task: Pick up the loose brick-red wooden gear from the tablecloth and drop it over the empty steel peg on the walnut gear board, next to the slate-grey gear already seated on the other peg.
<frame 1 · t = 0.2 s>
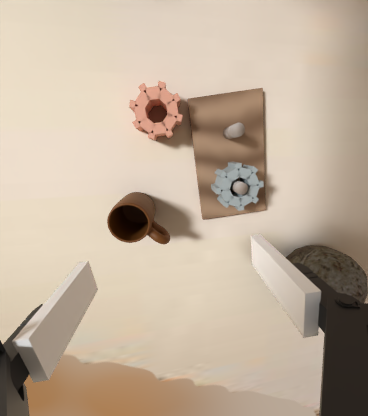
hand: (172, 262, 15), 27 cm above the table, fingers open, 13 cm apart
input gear: (158, 116, 37), on the table
gear board: (228, 159, 40), on the table
vase: (299, 266, 49), on the table
mug: (147, 213, 43), on the table
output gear: (231, 183, 40), point 1 cm above the table, touching gear board
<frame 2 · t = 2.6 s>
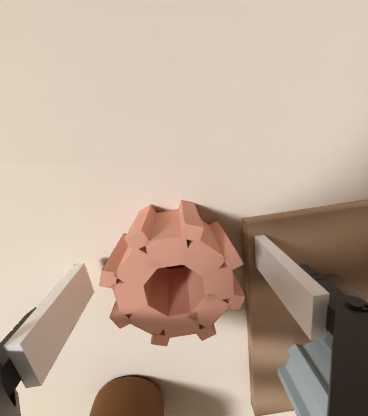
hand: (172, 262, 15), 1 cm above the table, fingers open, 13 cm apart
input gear: (174, 250, 16), on the table
gear board: (315, 317, 20), on the table
mug: (147, 400, 22), on the table
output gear: (319, 364, 20), point 1 cm above the table, touching gear board
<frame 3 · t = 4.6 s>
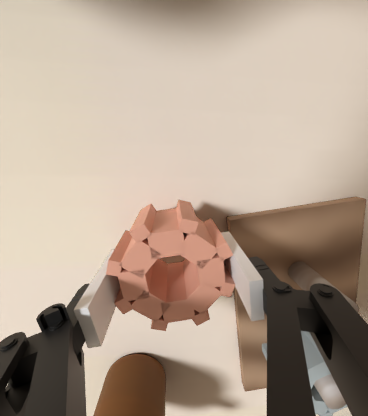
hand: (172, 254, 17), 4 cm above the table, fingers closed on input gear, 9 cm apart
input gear: (172, 245, 18), point 3 cm above the table, touching gripper
gear board: (291, 300, 24), on the table
mug: (151, 377, 26), on the table
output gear: (297, 341, 24), point 1 cm above the table, touching gear board
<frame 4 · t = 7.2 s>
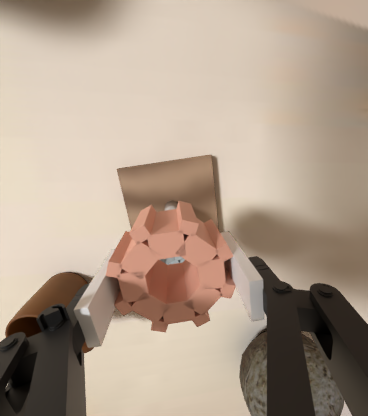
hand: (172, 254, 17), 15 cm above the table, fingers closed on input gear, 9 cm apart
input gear: (172, 246, 18), point 14 cm above the table, touching gripper
gear board: (176, 232, 33), on the table
vase: (269, 342, 42), on the table
mug: (81, 292, 35), on the table
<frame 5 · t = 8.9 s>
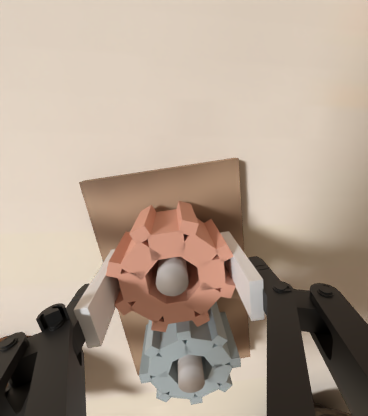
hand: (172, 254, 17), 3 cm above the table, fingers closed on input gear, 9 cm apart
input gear: (172, 246, 18), point 2 cm above the table, touching gripper
gear board: (179, 277, 21), on the table
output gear: (186, 321, 22), point 1 cm above the table, touching gear board
when the fingers open (3 cm above the table, at t = 9.9 s): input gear stays where it is, resting on gear board.
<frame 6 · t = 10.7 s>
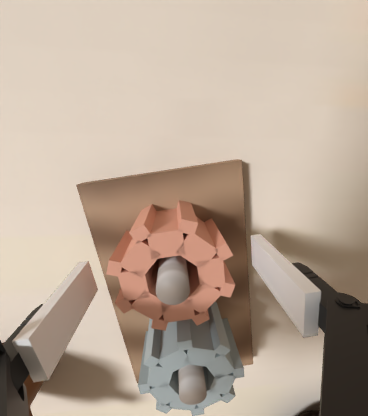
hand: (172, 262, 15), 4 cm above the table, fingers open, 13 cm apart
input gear: (172, 245, 18), point 1 cm above the table, touching gear board
gear board: (180, 282, 21), on the table
mug: (35, 369, 23), on the table
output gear: (187, 328, 21), point 1 cm above the table, touching gear board
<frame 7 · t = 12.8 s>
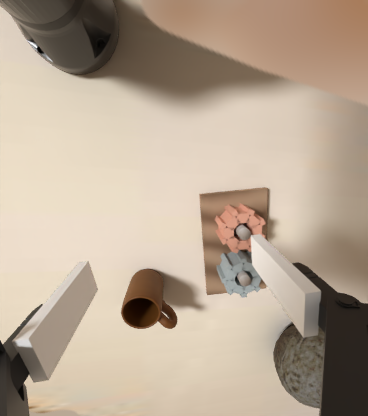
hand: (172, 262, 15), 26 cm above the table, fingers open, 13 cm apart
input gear: (235, 223, 41), point 1 cm above the table, touching gear board
gear board: (233, 242, 44), on the table
vase: (295, 335, 52), on the table
mug: (155, 286, 45), on the table
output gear: (236, 265, 44), point 1 cm above the table, touching gear board
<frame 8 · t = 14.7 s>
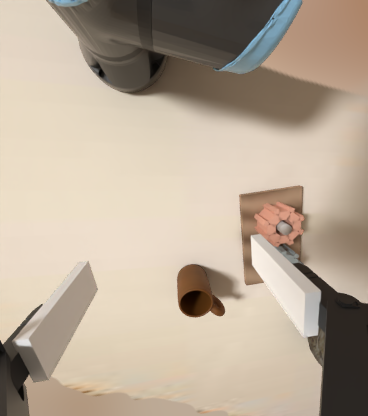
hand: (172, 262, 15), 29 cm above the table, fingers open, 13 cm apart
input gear: (272, 219, 45), point 1 cm above the table, touching gear board
gear board: (270, 237, 48), on the table
vase: (324, 318, 56), on the table
mug: (198, 279, 50), on the table
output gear: (272, 257, 48), point 1 cm above the table, touching gear board
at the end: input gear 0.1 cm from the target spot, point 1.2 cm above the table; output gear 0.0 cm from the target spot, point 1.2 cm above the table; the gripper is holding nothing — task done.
